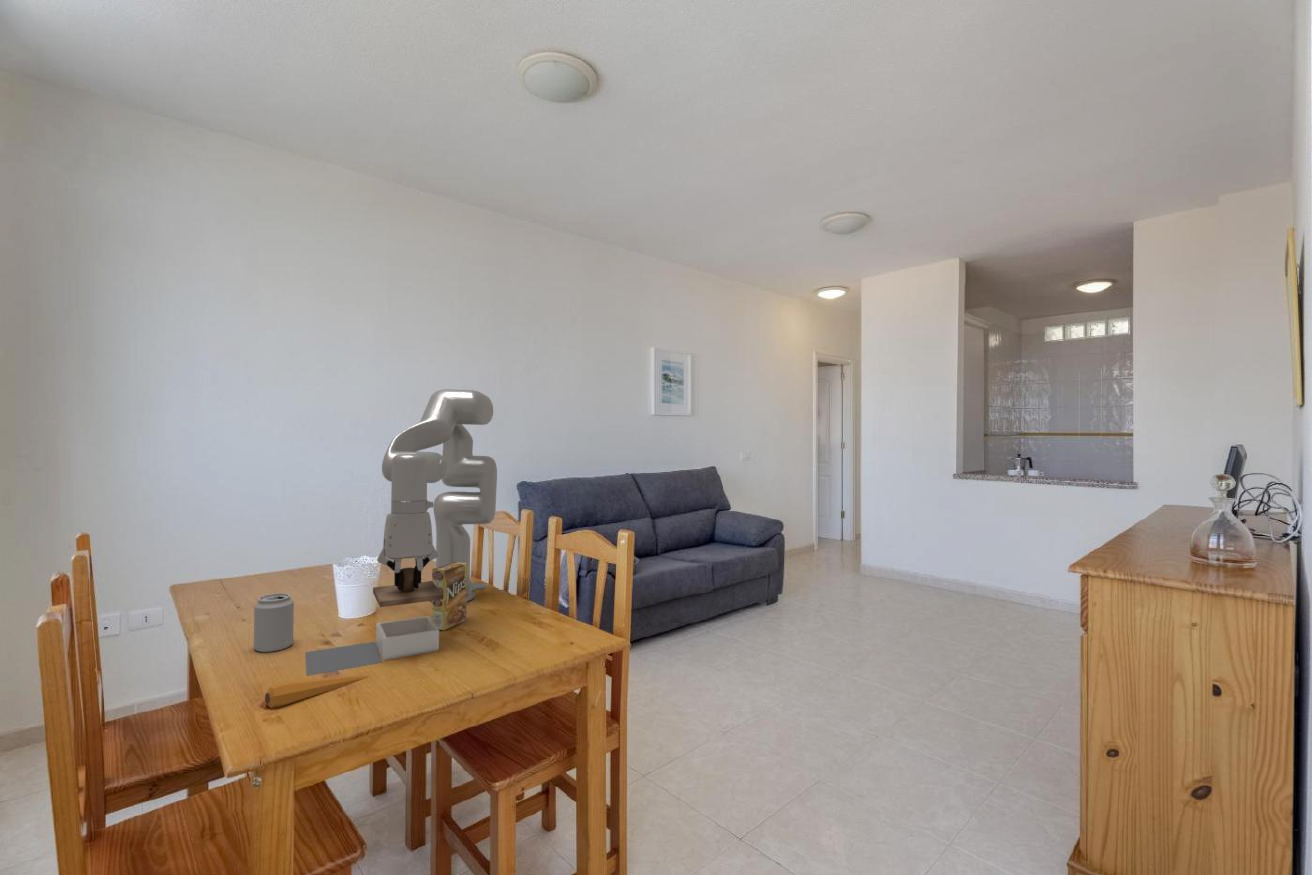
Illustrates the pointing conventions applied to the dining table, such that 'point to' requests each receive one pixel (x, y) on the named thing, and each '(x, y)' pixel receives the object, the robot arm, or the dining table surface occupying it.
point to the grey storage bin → (407, 637)
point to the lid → (407, 591)
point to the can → (273, 622)
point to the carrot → (304, 689)
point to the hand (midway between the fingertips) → (407, 587)
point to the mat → (341, 658)
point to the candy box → (450, 595)
